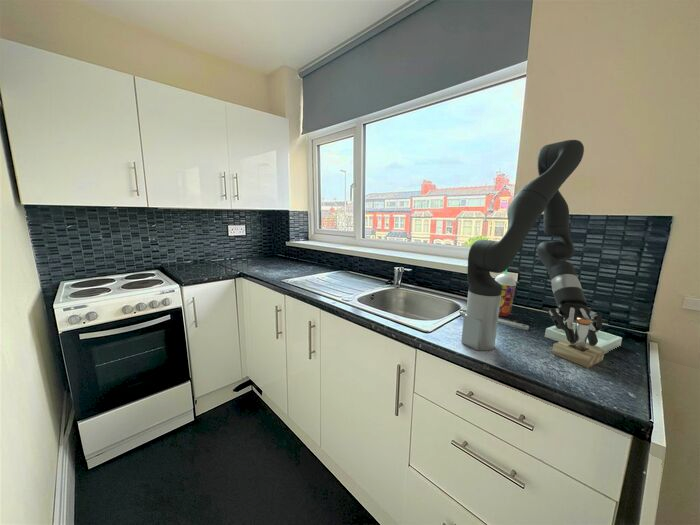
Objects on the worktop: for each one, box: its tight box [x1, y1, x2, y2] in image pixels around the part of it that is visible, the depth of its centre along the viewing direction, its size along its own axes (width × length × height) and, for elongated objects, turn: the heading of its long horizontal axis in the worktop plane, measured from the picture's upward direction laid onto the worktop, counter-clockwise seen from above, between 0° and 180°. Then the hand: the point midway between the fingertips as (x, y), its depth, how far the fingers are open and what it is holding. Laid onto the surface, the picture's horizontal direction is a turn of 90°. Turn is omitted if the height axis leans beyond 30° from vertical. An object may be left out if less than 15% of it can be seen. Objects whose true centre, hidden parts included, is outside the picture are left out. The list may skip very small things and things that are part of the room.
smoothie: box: [494, 268, 517, 317], centre depth 115 cm, size 8×8×20 cm
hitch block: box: [551, 339, 605, 369], centre depth 83 cm, size 9×9×3 cm
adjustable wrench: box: [459, 308, 530, 331], centre depth 109 cm, size 25×6×2 cm, turn 46°
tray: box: [544, 322, 623, 355], centre depth 93 cm, size 15×15×3 cm
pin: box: [572, 316, 592, 352], centre depth 82 cm, size 3×3×12 cm
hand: (583, 343), depth 80 cm, fingers open, 4 cm apart
